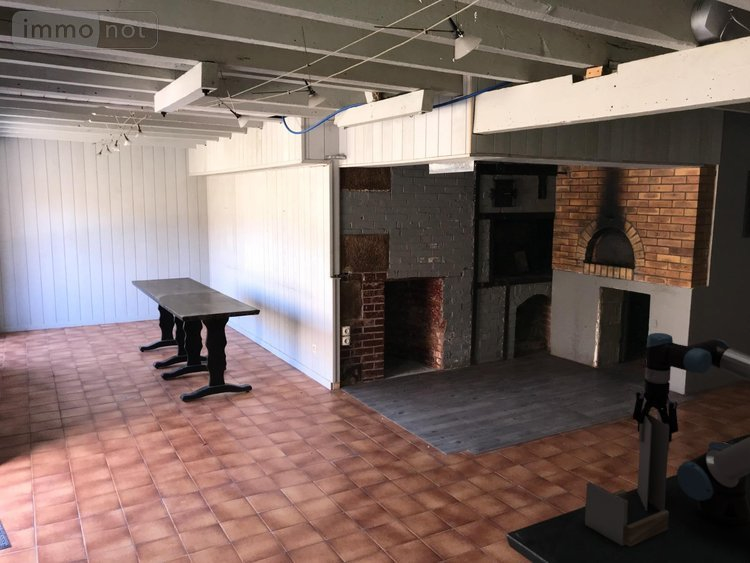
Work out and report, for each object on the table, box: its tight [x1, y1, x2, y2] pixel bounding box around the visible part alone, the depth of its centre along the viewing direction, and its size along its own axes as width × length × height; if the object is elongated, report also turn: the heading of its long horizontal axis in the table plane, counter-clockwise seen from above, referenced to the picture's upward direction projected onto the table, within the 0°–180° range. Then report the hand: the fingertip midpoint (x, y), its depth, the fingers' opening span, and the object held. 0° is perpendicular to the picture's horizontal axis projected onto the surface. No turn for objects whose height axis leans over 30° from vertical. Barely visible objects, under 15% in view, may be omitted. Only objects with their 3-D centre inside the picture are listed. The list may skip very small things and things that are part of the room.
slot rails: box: [584, 488, 670, 548], centre depth 196 cm, size 17×18×6 cm
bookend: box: [584, 481, 629, 547], centre depth 191 cm, size 14×2×14 cm, turn 30°
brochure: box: [636, 411, 670, 512], centre depth 208 cm, size 14×6×30 cm, turn 168°
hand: (653, 445), depth 208 cm, fingers open, 8 cm apart
